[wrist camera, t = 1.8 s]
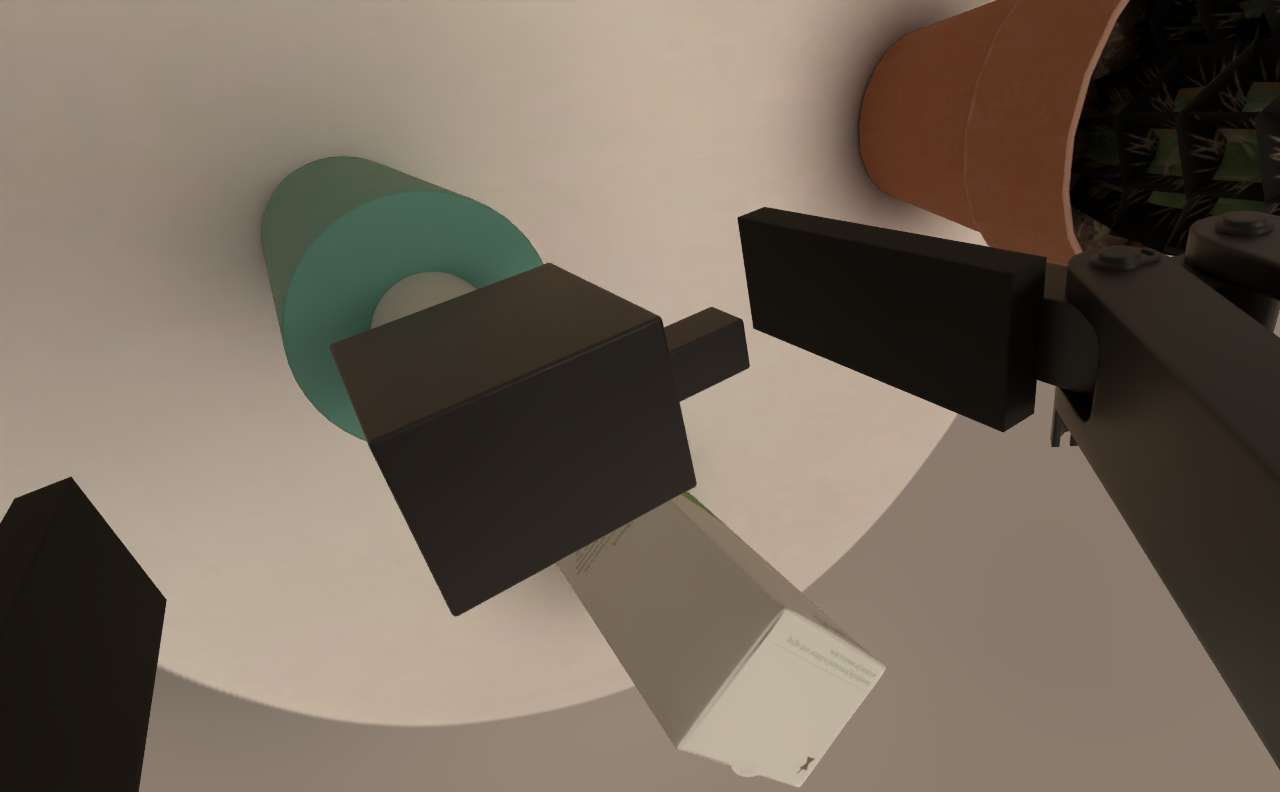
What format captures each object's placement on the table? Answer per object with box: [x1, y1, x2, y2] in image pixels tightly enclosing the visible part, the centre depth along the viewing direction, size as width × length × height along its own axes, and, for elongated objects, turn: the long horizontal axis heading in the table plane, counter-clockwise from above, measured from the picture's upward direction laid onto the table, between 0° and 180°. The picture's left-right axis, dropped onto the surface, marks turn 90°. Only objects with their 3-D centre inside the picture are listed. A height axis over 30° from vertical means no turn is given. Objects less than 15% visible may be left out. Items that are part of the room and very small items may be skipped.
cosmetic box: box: [556, 491, 886, 787], centre depth 32 cm, size 8×7×16 cm
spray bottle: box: [261, 157, 750, 616], centre depth 19 cm, size 7×6×21 cm
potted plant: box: [859, 0, 1280, 266], centre depth 29 cm, size 14×14×25 cm
